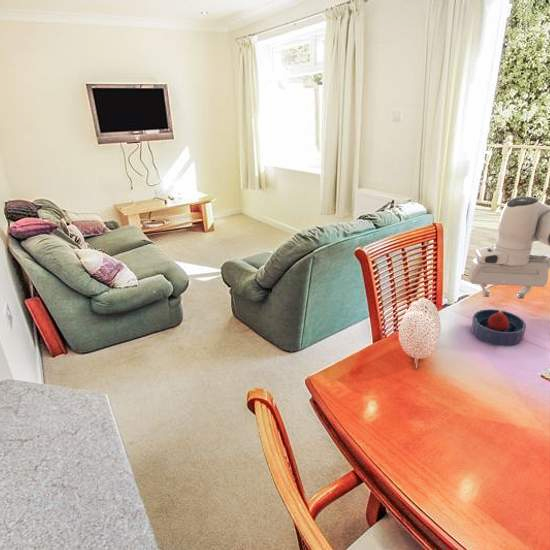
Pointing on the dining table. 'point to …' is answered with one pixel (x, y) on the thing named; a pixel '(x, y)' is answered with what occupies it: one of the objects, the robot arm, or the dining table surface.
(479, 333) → the bowl
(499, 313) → the onion
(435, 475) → the dining table surface
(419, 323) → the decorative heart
